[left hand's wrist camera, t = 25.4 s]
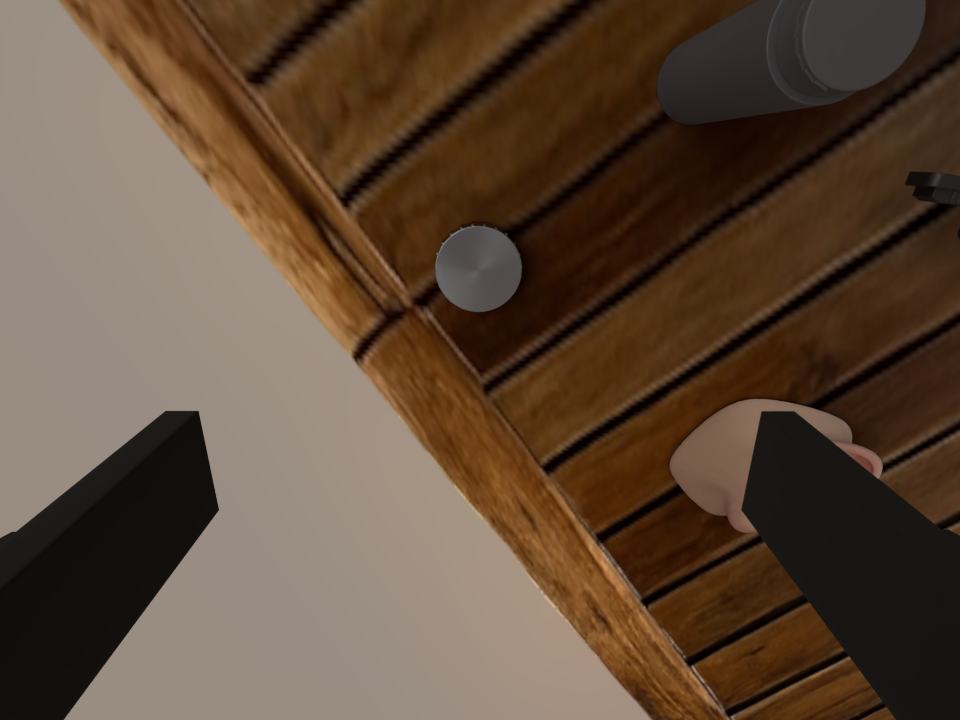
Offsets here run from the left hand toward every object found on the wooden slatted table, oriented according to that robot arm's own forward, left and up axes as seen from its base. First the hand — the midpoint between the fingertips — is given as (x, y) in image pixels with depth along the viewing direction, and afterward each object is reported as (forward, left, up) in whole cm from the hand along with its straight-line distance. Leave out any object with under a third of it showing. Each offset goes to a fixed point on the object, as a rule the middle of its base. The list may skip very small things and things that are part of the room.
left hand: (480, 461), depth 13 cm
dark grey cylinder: (-18, 0, -26) cm, 32 cm away
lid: (0, 0, -25) cm, 25 cm away
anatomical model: (-7, +26, -26) cm, 38 cm away
